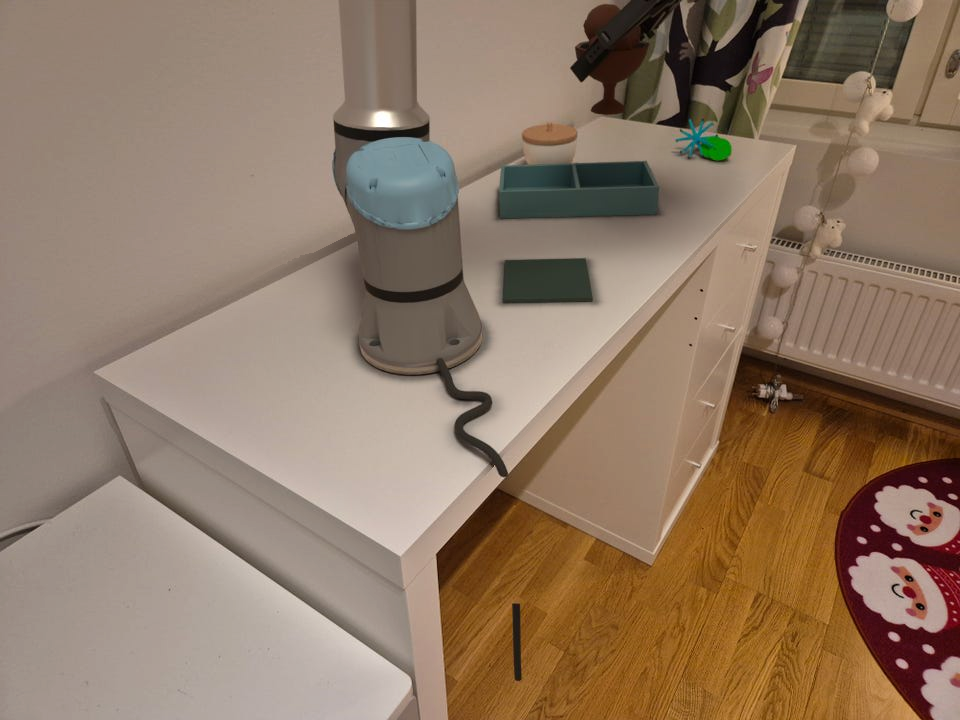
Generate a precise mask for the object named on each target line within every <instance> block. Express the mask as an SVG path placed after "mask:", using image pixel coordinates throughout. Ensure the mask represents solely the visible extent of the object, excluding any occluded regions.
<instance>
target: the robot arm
mask: <svg viewBox="0 0 960 720" xmlns="http://www.w3.org/2000/svg"><path fill="white" fill-rule="evenodd" d="M682 1H683V0H629V2H627V3H626V4H625V6H623V7H622V8H620V11H619V12H618V13H617V14H616V15H615V16H614V17H613V18H612V19H611V20H610V21H609V22H608V23H607V24H606V25H605V26H604V27H603V28H602V29H601V30H600V29H599V28H598V29H597V30H596V31H595V33H596V36H597V37H598V38H597V39H596V40H595V41H594V42H593V43H592V44H591V45H590V46H589V48H588V49H587V50H586V51H585V52H584V53H583V54H582V55H581V56H580V57H579V58H578V60H577V59H576V61H575V62H574V63H573V64H572V65H571V66H570V67H569V69H570V70H571V72H572V73H573V74H574V76H575V77H576V78H577V80H578V81H579V82H580V83H583V82H585V80H586V79H587V78H589V77H590V76H589V75H590V74H591V73H592V72H593V71H594V70H595V69H596V68H597V67H598V66H599V65H600V63H601V62H602V61H603V60H604V59H605V58H606V57H607V56H608V55H609V54H610V53H611V52H612V51H613V48H614V46H615V45H617V44H618V43H619V42H620V41H621V40H622V39H624V38H625V37H626V36H627V35H628V34H629V33H630V32H632V31H633V30H634V29H635V28H636V27H637V26H639V27H640V28H641V32H640V41H644V40H645V38H646V37H647V39H648V40H652V38H654V37H655V36H656V33H655V32H654V31H656V30H658V29H660V26H661V25H662V24H663V23H664V22H665V20H667V19H668V17H669V16H670V15H671V14H672V13H673V12H674V10H675V9H676V8H677V7H678V6H679V4H681V2H682ZM338 11H339V12H338V13H339V29H340V43H341V45H340V46H341V57H342V58H341V61H342V74H343V75H342V76H343V90H344V101H343V103H342V104H341V105H340V106H339V107H338V108H337V109H336V110H335V112H333V114H332V120H333V133H334V135H333V136H334V150H333V151H334V152H333V155H332V156H333V158H332V161H331V167H332V176H333V181H334V183H335V186H336V189H337V191H338V193H339V195H340V197H341V198H342V199H343V202H344V205H345V207H346V209H347V212H348V215H349V217H350V220H351V222H352V225H353V228H354V233H355V237H356V243H357V248H358V249H357V250H358V254H359V258H360V259H359V260H360V265H361V271H362V276H363V277H362V278H363V284H364V290H365V293H364V297H363V304H362V309H361V315H360V321H359V325H358V333H357V334H358V335H357V336H358V337H357V338H358V343H359V350H360V353H361V355H362V357H363V358H364V360H365V361H366V362H368V363H369V364H370V365H371V366H373V367H375V368H377V369H379V370H382V371H385V372H388V373H393V374H398V375H410V376H411V375H413V376H414V375H426V374H427V375H428V374H433V373H438V372H440V373H441V376H442V378H443V379H444V383H445V387H446V389H447V391H448V392H449V394H451V395H452V396H453V397H455V398H458V399H462V400H480V401H481V400H482V401H483V402H482V403H481V404H479V405H477V406H475V407H472V408H470V409H468V410H466V411H464V412H463V413H461V414H460V415H458V416H457V418H456V419H455V421H454V432H455V435H456V436H457V437H458V438H459V439H460V440H461V441H462V442H464V443H466V444H468V445H470V446H471V447H474V448H476V449H478V450H479V451H481V452H483V453H484V454H485V455H486V457H488V458H489V459H490V460H491V461H492V463H493V465H494V467H495V469H496V471H497V473H498V475H499V476H500V477H501V478H507V477H508V476H509V471H508V469H507V466H506V465H505V462H504V460H503V459H502V457H501V455H500V453H498V452H497V450H495V448H493V447H492V446H491V445H490V444H489V443H486V442H485V441H483V440H481V439H480V438H478V437H475V436H473V435H471V434H469V433H468V432H467V431H465V429H464V424H465V423H466V422H469V420H471V419H473V418H475V417H477V416H479V415H482V414H483V413H486V412H487V411H488V410H489V409H490V408H491V407H492V405H493V399H492V396H491V395H490V394H489V393H487V392H485V391H479V390H477V391H476V390H473V391H472V390H469V391H468V390H461V389H458V388H457V387H456V385H455V383H454V380H453V377H452V373H451V371H450V370H449V369H451V368H453V367H456V366H458V365H460V364H462V363H464V362H465V361H467V360H468V359H469V358H471V357H473V355H474V354H475V353H476V352H477V351H478V349H479V347H480V346H481V344H482V343H483V342H482V341H483V326H482V325H483V324H482V320H481V317H480V314H479V312H478V309H477V307H476V305H475V302H474V300H473V298H472V296H471V294H470V291H469V290H468V287H467V284H466V283H465V279H464V269H463V266H464V265H463V253H462V252H463V250H462V237H461V224H460V223H461V222H460V208H459V192H460V187H459V181H458V180H459V179H458V176H457V174H456V168H455V163H454V160H453V158H452V156H451V154H450V153H449V152H448V150H447V149H445V148H444V147H443V146H441V145H440V144H438V143H436V142H433V141H431V137H430V130H431V129H430V125H431V124H430V115H429V114H428V113H427V111H426V110H425V109H424V108H423V107H422V106H421V104H420V103H419V102H418V77H417V76H418V63H417V61H418V57H417V54H418V53H417V51H418V50H417V48H418V47H417V43H418V42H417V37H418V36H417V35H418V34H417V0H338ZM511 607H512V608H511V609H512V613H511V615H512V652H513V654H512V655H513V677H514V680H515V681H516V682H520V681H522V677H523V676H522V675H523V674H522V644H521V643H522V642H521V641H522V639H521V636H522V635H521V631H522V630H521V627H522V626H521V603H511Z"/></svg>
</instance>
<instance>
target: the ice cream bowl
mask: <svg viewBox="0 0 960 720" xmlns="http://www.w3.org/2000/svg"><path fill="white" fill-rule="evenodd" d="M620 10H621V8H619V6H618V5H616V4H613V3H611V4H610V3H602V4H598V5H597V6H595V7H594V8H592V9H591V10H590V11H589V12H588V14H587V17H586V19H585V20H584V22H583V25H582V26H583V32H584V34H585V36H586V38H587V41H581V42H579V43H577V44H576V45H575V46H574V50H575V57H576V61H577V60H578V58H579V57H580V56H581V55H582V54H583V53H584V52H585V51H586V50H587V49H588V48H589V46H590V45H591V44H592V43H593V42H594V41H595V40H596V39H597V38H598V37H597V36H596V33H595V31H596V30H597V29H598V28H599V29H600V30H601V29H602V28H603V27H604V26H605V25H606V24H607V23H608V22H609V21H610V20H611V19H612V18H613V17H614V16H615V15H616V14H617V13H618V12H619V11H620ZM640 32H641V28H640V27H639V26H637V27H636V28H635V29H634V30H633V31H632V32H630V33H629V34H628V35H627V36H626V37H625V38H624V39H622V40H621V41H620V42H619V43H618V44H617V45H615V46H614V48H613V51H612V52H611V53H610V54H609V55H608V56H607V57H606V58H605V59H604V60H603V61H602V62H601V63H600V65H599V66H598V67H597V68H596V69H595V70H594V71H593V72H592V73H591V74H590V75H589V76H588V77H590V78H591V79H593V80H595V81H597V82H599V83H601V84H602V87H603V96H602V99H601V100H599V101H597V102H596V103H595V104H593V105H592V106H591V108H590V112H591V113H593V114H595V115H604V116H610V115H612V116H613V115H619V114H623V113H625V112H626V105H624V104H623V103H622V102H620V101H619V100H617V99H616V97H615V95H616V87H617V84H618V83H621V82H624V81H625V80H627V79H629V78H630V77H631V76H633V75H634V74H635V72H636V71H637V70H638V69H639V68H640V67H641V65H642V64H643V62H644V60H645V59H646V56H647V55H648V51H649V47H650V42H647V41H644V40H642V41H640Z"/></svg>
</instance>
